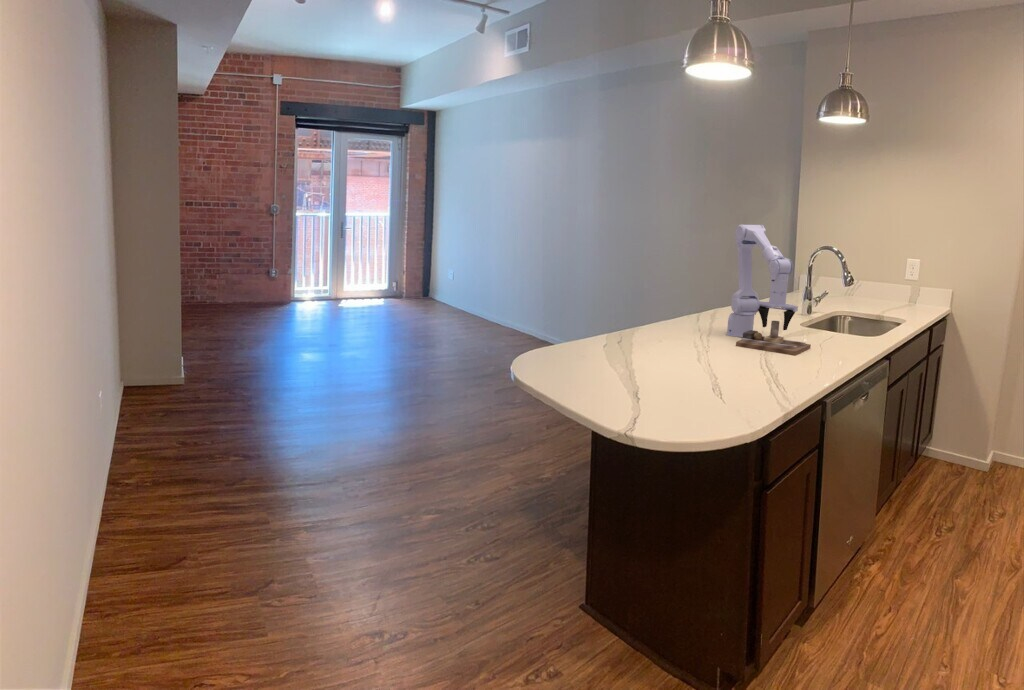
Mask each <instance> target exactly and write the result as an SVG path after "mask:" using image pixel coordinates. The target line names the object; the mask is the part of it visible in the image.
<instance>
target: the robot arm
mask: <svg viewBox="0 0 1024 690" xmlns="http://www.w3.org/2000/svg"><path fill="white" fill-rule="evenodd" d="M734 236H735V237H734V238H735V239H734V242H735V247H737V270H738V271H737V273H738V290H737V291H735V292H734V293H733V294H732V296H731V297H732V299H731V304H730V307H731V311H733V312H730V314H729V316H728V319H727V328H726V334H725V336H730V337H737V338H741V339H742V338H743V332H746V331H749V330H753V331H754V324H755V323H754V322H755V316H756V315H757V313H759V315H760V319H761V323H762V324H761V325H762V328H766V327H767V325H768V315H769V312H770V311H769V310H770V309H773V310H774V309H775V310H782V311H783V326H782V327H783V328H782V330H783V331H787V330H788V327H789V324H790V322H791V320H792V318H793V317H794V315H795V313H796V312H798V310H799V309H798V308H799V306H798V305H794V304H787V303H786V302H787V295H788V294H787V293H788V286H789V285H788V283H789V275H791V274H792V272H793V269H794V264H793V262H792V259H790V258H787V257H784V255H783V254H782V252H781V251H780V249H779V248H778V246H775V245H772V244H771V242H770V241H769V238H768V237H767V229H766V228H765V226H764V224H739V225H738V226H737V227H736V230H735V231H734ZM757 246H758V247H759V248H760V249H761V251H763V252H762V257H763V258H764V260H765V261H766V262H767V264H768V269H769V278H770V279H771V281H770V289H769V290H770V291H769V301H761V300H760V298H759V294H758V292H756V291H755V290H754V289H753V287H754V286H753V266H752V265H753V264H752V263H753V262H752V261H753V260H752V249H753V248H755V247H757Z"/></svg>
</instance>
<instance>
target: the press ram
mask: <svg viewBox="0 0 1024 690" xmlns="http://www.w3.org/2000/svg"><path fill="white" fill-rule="evenodd" d="M770 324H771V325H770V331H769V332H770V333H769V334H768V335H767V336H764V341H765V342H771V343H778V344H780V343H782V342H783V339H784V336H781V335H780V336H779V330H780V321H779V320H771V323H770Z"/></svg>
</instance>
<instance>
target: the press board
mask: <svg viewBox="0 0 1024 690" xmlns="http://www.w3.org/2000/svg"><path fill="white" fill-rule="evenodd" d="M764 337H765V336H763V334H762V333H761V332H760V331H758V330H754V329H753V330H749V331H746V332H743V338H742V337H741V340H738V341H735V347H741V348H747V349H752V350H758V351H766V352H772V353H778V354H784V355H790V356H797V355H799V354H801V353H804V352H805V351H808V350H811V344H809V343H806V342H803V341H798V340H797V341H796V340H791V339H790V340H789V339H784V338H783V342H782V343H780V344H778V343H771V342H765V341H764Z"/></svg>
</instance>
